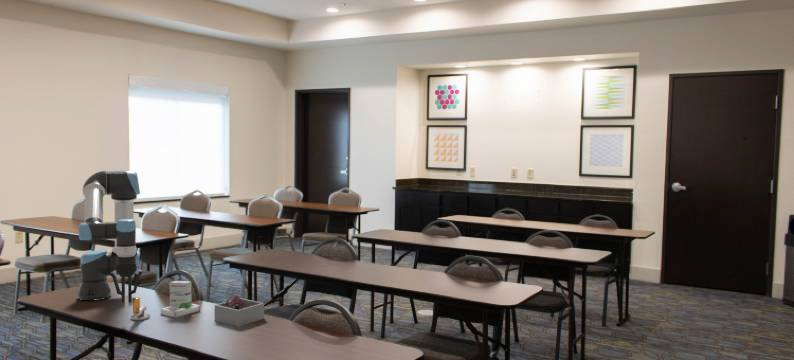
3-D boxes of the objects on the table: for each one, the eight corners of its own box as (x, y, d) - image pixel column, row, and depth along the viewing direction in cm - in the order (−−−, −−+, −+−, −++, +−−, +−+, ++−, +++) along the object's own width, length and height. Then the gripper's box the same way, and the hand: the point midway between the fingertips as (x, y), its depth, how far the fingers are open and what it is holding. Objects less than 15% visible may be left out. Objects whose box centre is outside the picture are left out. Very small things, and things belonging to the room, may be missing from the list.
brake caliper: (235, 319, 266) (224, 295, 269) (222, 331, 271) (211, 306, 275) (255, 314, 275) (244, 290, 278) (242, 325, 280) (232, 301, 284)
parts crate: (214, 320, 272) (214, 305, 271) (240, 312, 284) (240, 298, 284) (238, 326, 264) (238, 310, 263) (263, 318, 276) (263, 303, 276)
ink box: (192, 306, 285) (192, 280, 285) (187, 308, 280) (187, 283, 280) (174, 305, 286) (174, 280, 285) (169, 308, 281) (169, 282, 281)
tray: (160, 314, 280) (160, 308, 280) (186, 307, 292) (186, 302, 292) (174, 317, 275) (174, 312, 275) (200, 310, 287) (200, 305, 286)
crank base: (126, 318, 273) (126, 311, 272) (142, 314, 279) (142, 307, 279) (137, 321, 268) (137, 314, 268) (153, 317, 275) (153, 310, 275)
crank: (135, 309, 276) (135, 292, 275) (147, 308, 277) (147, 292, 276) (129, 316, 264) (129, 299, 263) (141, 316, 265) (141, 298, 264)
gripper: (109, 257, 257) (109, 313, 258) (142, 256, 262) (143, 310, 263) (110, 254, 264) (110, 308, 265) (142, 253, 269) (143, 306, 270)
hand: (126, 309), depth 264 cm, fingers closed
